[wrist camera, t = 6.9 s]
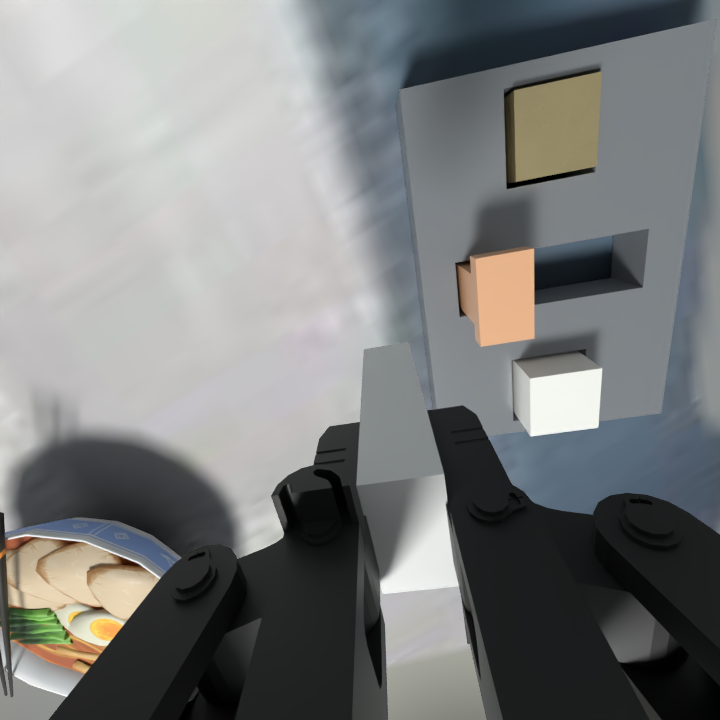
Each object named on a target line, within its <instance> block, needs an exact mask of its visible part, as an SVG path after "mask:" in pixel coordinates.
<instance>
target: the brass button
mask: <svg viewBox="0 0 720 720" xmlns="http://www.w3.org/2000/svg"><path fill="white" fill-rule="evenodd" d="M601 80H602V71H601V72H597V73H592V74H587V75H583V76H578V77H573V78H569V79H564V80H560V81H555V82H550V83H546V84H541V85H537V86H532V87H527V88H523V89H518V90H514V91H513V92H511V93H510V94H509V95H508V96H507V97H505V98H504V121H505V155H506V184H507V183H513V182H518V181H524V180H529V179H534V178H539V177H544V176H549V175H555V174H560V173H565V172H570V171H575V170H580V169H586V168H591V167H596V166H597V157H598V138H599V118H600V99H601Z"/></svg>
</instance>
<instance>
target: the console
mask: <svg viewBox="0 0 720 720" xmlns="http://www.w3.org/2000/svg"><path fill="white" fill-rule="evenodd" d="M716 20H717V19H713V20H709V21H704V22H700V23H695V24H691V25H686V26H682V27H677V28H673V29H668V30H664V31H659V32H655V33H650V34H646V35H642V36H637V37H633V38H628V39H624V40H619V41H615V42H610V43H606V44H601V45H597V46H592V47H588V48H583V49H579V50H574V51H570V52H565V53H561V54H556V55H552V56H548V57H543V58H539V59H534V60H530V61H525V62H521V63H516V64H512V65H507V66H503V67H498V68H494V69H489V70H485V71H480V72H476V73H471V74H467V75H462V76H458V77H454V78H449V79H445V80H440V81H436V82H431V83H427V84H422V85H418V86H413V87H409V88H404V89H400V90H399V94H398V98H397V102H396V112H397V121H398V129H399V137H400V145H401V153H402V162H403V170H404V178H405V186H406V194H407V203H408V211H409V219H410V227H411V235H412V244H413V252H414V260H415V268H416V276H417V285H418V293H419V301H420V309H421V318H422V326H423V334H424V342H425V350H426V359H427V367H428V375H429V383H430V391H431V400H432V408H433V410H434V409H441V408H448V407H454V406H461V405H463V406H465V407H466V408H468V409H469V410H471V411H472V412H474V413H475V414H477V416H478V418H479V420H480V422H481V424H482V426H483V430H485V432H486V434H487V436H491V435H498V434H506V433H514V432H521V431H527V430H526V429H525V427H524V426H523V425H522V423H521V422H520V420H519V419H518V417H517V416H516V414H515V413H514V412H513V391H512V360H516V359H522V358H529V357H536V356H542V355H549V354H556V353H563V352H569V351H576V350H577V351H579V352H580V353H581V354H583V355H584V356H586V357H587V358H589V359H590V360H591V361H593V362H594V363H596V364H597V365H599V366H600V367H601V368H602V381H601V395H600V409H599V421H605V420H613V419H621V418H628V417H636V416H644V415H651V414H659V413H661V410H662V403H663V396H664V389H665V382H666V375H667V368H668V360H669V353H670V346H671V339H672V332H673V325H674V318H675V311H676V304H677V297H678V289H679V282H680V275H681V268H682V261H683V254H684V247H685V240H686V233H687V226H688V219H689V211H690V204H691V197H692V190H693V183H694V176H695V169H696V162H697V155H698V148H699V140H700V133H701V126H702V119H703V112H704V105H705V98H706V91H707V84H708V77H709V69H710V62H711V55H712V48H713V41H714V34H715V27H716ZM601 71H602V80H601V99H600V118H599V138H598V157H597V166H596V167H591V168H586V169H580V170H575V171H570V172H566V177H563V178H558V179H552V180H547V181H542V182H537V183H532V184H526V185H521V186H516V187H511V188H506V155H505V121H504V98H505V97H507V96H508V95H509V94H510V93H511V92H513V91H514V90H518V89H523V88H527V87H532V86H537V85H541V84H546V83H550V82H555V81H560V80H564V79H569V78H573V77H578V76H583V75H587V74H592V73H597V72H601ZM610 235H614V236H613V250H612V264H611V278H607V279H600V280H594V281H588V282H582V283H576V284H570V285H564V286H558V287H552V288H546V289H540V290H534V334H535V339H529V340H522V341H516V342H509V343H503V344H496V345H490V346H483V347H481V346H480V345H479V344H478V342H477V341H476V339H475V324H474V323H473V322H472V321H471V320H470V319H469V317H468V316H467V315H466V314H465V313H464V312H463V311H462V309H461V308H460V307H459V304H458V291H457V279H456V267H455V263H457V262H462V261H468V260H470V256H473V255H479V254H484V253H490V252H496V251H501V250H507V249H513V248H518V247H524V246H526V247H530V248H534V249H536V248H542V247H548V246H553V245H559V244H565V243H570V242H576V241H582V240H588V239H593V238H599V237H605V236H610Z"/></svg>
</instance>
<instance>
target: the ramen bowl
mask: <svg viewBox="0 0 720 720" xmlns="http://www.w3.org/2000/svg"><path fill="white" fill-rule="evenodd" d="M180 559H181V557H180V556H179V555H178V554H176V553H175V552H174V551H172V550H171V549H170V548H169V547H167V546H166V545H165V544H163V543H162V542H161V541H159V540H158V539H157V538H155V537H154V536H153V535H151V534H148V533H146V532H144V531H141V530H139V529H136V528H134V527H131V526H129V525H126V524H124V523H121V522H118V521H111V520H102V519H93V518H83V517H76V518H69V519H63V520H58V521H53V522H48V523H43V524H38V525H34V526H29V527H25V528H21V529H17V530H13V531H10V532H6V533H5V527H4V513H2V512H0V677H1V681H2V685H3V689H4V694H5V696H7V688H6V681H5V675H4V670H5V671H6V672H8V680H9V687H10V695H11V697H13V681H12V675H14V676H15V677H17V678H19V679H21V680H23V681H24V682H26V683H28V684H30V685H32V686H35V687H38V688H42V689H45V690H47V691H51V692H54V693H57V694H60V695H63V696H66V697H67V696H68V695H69V693H70V692H71V691H72V690H73V688H74V687H75V686H76V685H77V683H78V682H79V681H80V680H81V678H82V677H83V676H84V674H85V673H86V672H87V671H88V669H89V668H90V667H91V666H92V664H93V663H94V662H95V661H96V659H97V658H98V657H99V656H100V654H101V653H102V652H103V650H104V649H105V648H106V647H107V645H108V644H109V643H110V642H111V640H112V639H113V638H114V637H115V635H116V634H117V633H118V631H119V630H120V629H121V628H122V626H123V625H124V624H125V623H126V621H127V620H128V619H129V618H130V616H131V615H132V614H133V612H134V611H135V610H136V609H137V607H138V606H139V605H140V604H141V602H142V601H143V600H144V599H145V597H146V596H147V595H148V594H149V592H150V591H151V590H152V588H153V587H154V586H155V585H156V583H157V582H158V581H159V580H160V578H161V577H162V576H163V575H164V574H165V573H166V572H167V571H168V570H169V569H170V568H171V567H172V566H173V565H174V563H175V562H177V561H178V560H180Z"/></svg>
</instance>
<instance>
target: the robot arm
mask: <svg viewBox="0 0 720 720" xmlns="http://www.w3.org/2000/svg"><path fill="white" fill-rule="evenodd" d="M316 453H317V455H316V456H315V460H314V465H313V466H309V467H305V468H301V469H299V470H298V471H296V472H294V473H292V474H290V475H288V476H287V477H286V478H285V479H284V480H283V481H281V482H280V483H279V484H278V485H277V487H276V488H275V490H274V492H273V494H272V495H271V497H272V500H273V503H274V505H275V508H276V511H277V514H278V517H279V519H280V522H281V525H282V528H283V531H284V536H283V538H282V539H281V540H279V541H278V542H276V543H274V544H272V545H270V546H268V547H266V548H264V549H262V550H259V551H257V552H254V553H252V554H249V555H247V556H244V557H242V558H239V559H237V557H236V556H235V554H234V553H233V551H232V550H231V549H230V548H228V547H225V546H222V545H212V546H205V547H202V548H200V549H197V550H195V551H192V552H190V553H189V554H187V555H186V556H184V557H183V558H181V559H180V560H178V561H177V562H175V563H174V565H173V566H172V567H171V568H170V569H169V570H168V571H167V572H166V573H165V574H164V575H163V576H162V577H161V578H160V580H159V581H158V582H157V583H156V585H155V586H154V587H153V588H152V590H151V591H150V592H149V594H148V595H147V596H146V597H145V599H144V600H143V601H142V602H141V604H140V605H139V606H138V607H137V609H136V610H135V611H134V612H133V614H132V615H131V616H130V618H129V619H128V620H127V621H126V623H125V624H124V625H123V626H122V628H121V629H120V630H119V631H118V633H117V634H116V635H115V637H114V638H113V639H112V640H111V642H110V643H109V644H108V645H107V647H106V648H105V649H104V650H103V652H102V653H101V654H100V656H99V657H98V658H97V659H96V661H95V662H94V663H93V664H92V666H91V667H90V668H89V669H88V671H87V672H86V673H85V674H84V676H83V677H82V678H81V680H80V681H79V682H78V683H77V685H76V686H75V687H74V688H73V690H72V691H71V692H70V693H69V695H68V696H67V697H66V699H65V700H64V701H63V702H62V704H61V705H60V706H59V707H58V709H57V710H56V711H55V712H54V714H53V715H52V716H51V717H50V719H49V720H388V708H387V707H388V706H387V677H386V646H385V623H384V619H383V615H382V610H381V606H380V585H381V589H382V593H383V594H387V593H397V592H407V591H416V590H426V589H436V588H446V587H456V586H459V589H460V593H461V598H462V606H463V613H464V621H465V629H466V636H467V644H470V646H471V651H472V655H473V660H474V664H475V668H476V673H477V677H478V682H479V687H480V691H481V696H482V700H483V705H484V709H485V714H486V718H487V720H720V534H718V533H717V532H715V531H714V530H713V529H711V528H710V527H708V526H707V525H705V524H704V523H703V522H701V521H700V520H698V519H697V518H695V517H694V516H693V515H691V514H690V513H688V512H686V511H684V510H683V509H681V508H679V507H677V506H675V505H673V504H672V503H670V502H668V501H664V500H661V499H658V498H655V497H652V496H649V495H642V494H632V493H624V494H617V495H610V496H608V497H607V498H605V499H603V500H602V501H600V502H598V504H597V506H596V509H595V511H594V513H593V515H589V514H582V513H574V512H566V511H559V510H554V509H550V508H546V507H543V506H541V505H538V504H535V503H534V502H532V501H531V500H530V499H529V497H528V496H527V495H526V494H525V493H524V492H523V491H522V490H520V489H518V488H517V487H515V486H513V485H512V484H511V482H510V480H509V478H508V476H507V474H506V472H505V470H504V468H503V466H502V464H501V462H500V460H499V458H498V456H497V454H496V452H495V450H494V448H493V446H492V444H491V442H490V440H488V436H487V434H486V432H485V430H483V426H482V424H481V422H480V420H479V418H478V416H477V414H475V413H474V412H472V411H471V410H469V409H468V408H466V407H465V406H463V405H461V406H454V407H448V408H441V409H434V410H428V411H427V409H426V405H425V401H424V398H423V394H422V390H421V386H420V383H419V379H418V375H417V372H416V368H415V364H414V361H413V357H412V353H411V349H410V346H409V342H406V343H400V344H394V345H388V346H382V347H376V348H370V349H365V350H364V358H363V375H362V393H361V411H360V422H357V423H350V424H343V425H337V426H330V427H329V428H328V429H327V430H326V431H325V433H324V434H323V435H322V436H321V438H320V439H319V443H318V447H317V451H316Z"/></svg>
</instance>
